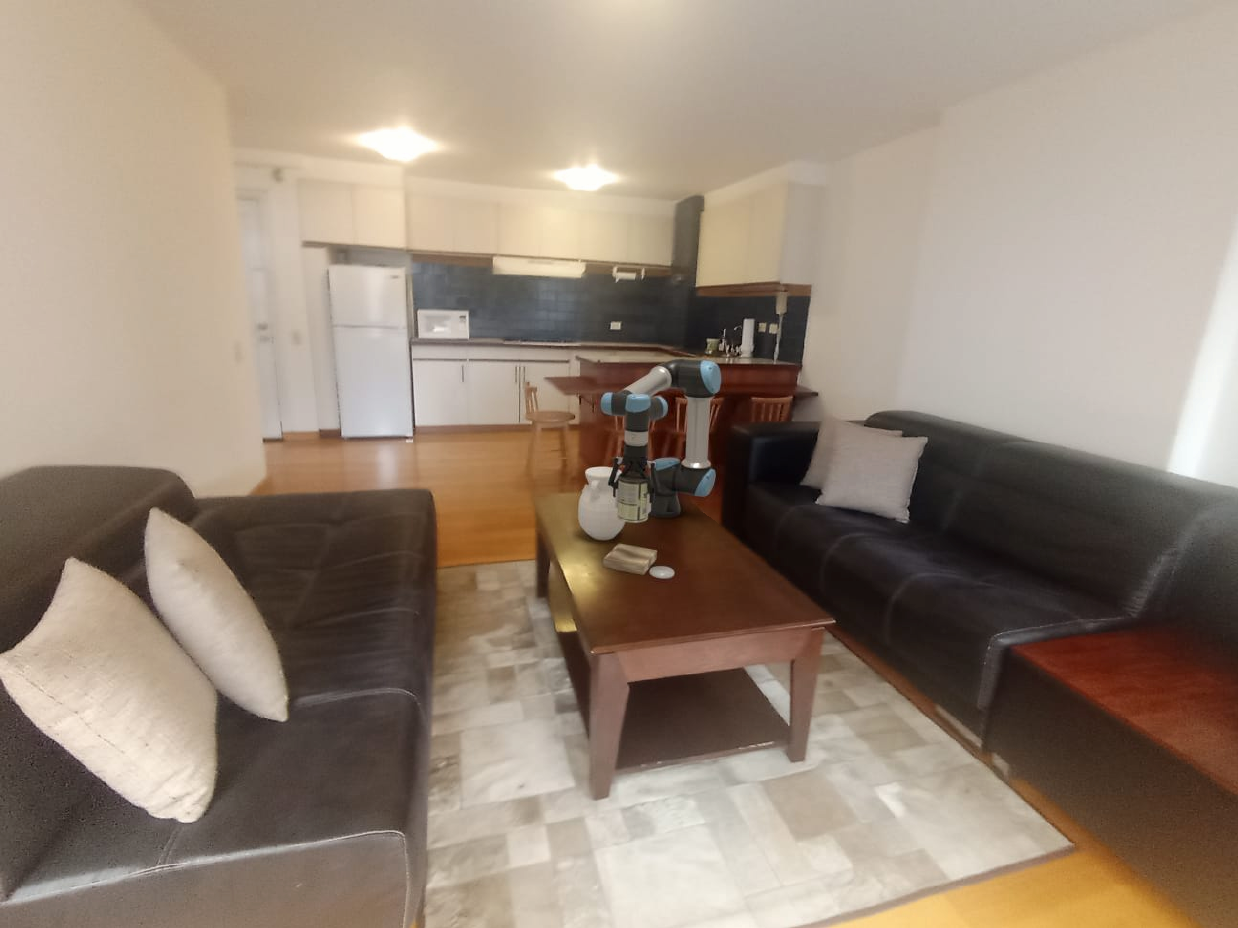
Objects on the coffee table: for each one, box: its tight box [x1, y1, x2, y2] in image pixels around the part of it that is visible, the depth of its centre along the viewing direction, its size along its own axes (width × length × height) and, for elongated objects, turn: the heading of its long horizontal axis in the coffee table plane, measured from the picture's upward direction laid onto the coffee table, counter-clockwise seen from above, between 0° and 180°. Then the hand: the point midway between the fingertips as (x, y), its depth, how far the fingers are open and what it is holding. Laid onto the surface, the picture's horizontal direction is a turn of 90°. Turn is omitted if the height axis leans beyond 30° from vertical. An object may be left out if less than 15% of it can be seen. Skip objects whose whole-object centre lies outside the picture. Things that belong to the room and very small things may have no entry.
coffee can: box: [617, 471, 651, 524], centre depth 188 cm, size 10×10×14 cm
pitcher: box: [577, 466, 626, 541], centre depth 213 cm, size 19×18×25 cm
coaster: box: [649, 565, 675, 579], centre depth 187 cm, size 8×8×1 cm
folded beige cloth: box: [602, 543, 658, 576], centre depth 194 cm, size 14×14×3 cm
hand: (632, 509), depth 189 cm, fingers closed on coffee can, 10 cm apart
